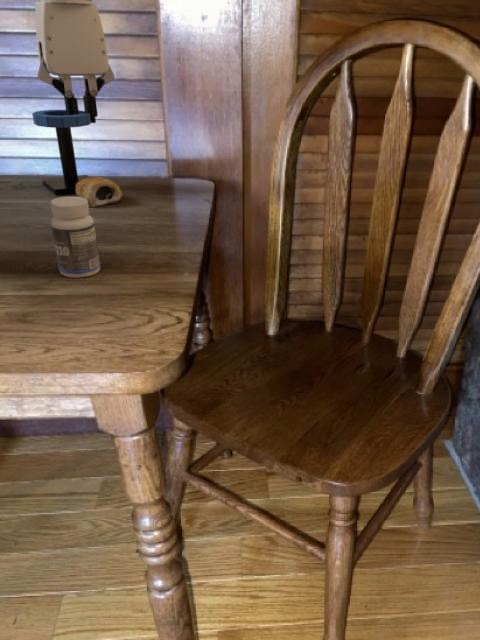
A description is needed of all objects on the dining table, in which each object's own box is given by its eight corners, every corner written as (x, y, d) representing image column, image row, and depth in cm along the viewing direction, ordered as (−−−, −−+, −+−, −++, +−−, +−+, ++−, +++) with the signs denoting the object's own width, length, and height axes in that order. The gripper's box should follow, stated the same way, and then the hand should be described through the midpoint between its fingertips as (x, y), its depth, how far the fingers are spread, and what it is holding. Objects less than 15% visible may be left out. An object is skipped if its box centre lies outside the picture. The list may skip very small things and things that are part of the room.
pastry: (67, 195, 96) (63, 172, 94) (105, 190, 100) (103, 168, 98) (87, 208, 90) (84, 184, 88) (128, 203, 93) (125, 179, 91)
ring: (42, 129, 90) (41, 118, 89) (28, 121, 96) (27, 110, 95) (97, 125, 94) (96, 115, 93) (81, 118, 100) (79, 108, 100)
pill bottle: (53, 269, 68) (39, 198, 64) (90, 261, 71) (80, 192, 67) (69, 282, 65) (56, 208, 61) (107, 272, 68) (98, 202, 64)
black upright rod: (55, 195, 96) (43, 125, 90) (42, 185, 101) (30, 118, 96) (102, 190, 100) (93, 122, 94) (87, 180, 105) (78, 115, 100)
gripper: (107, -4, 94) (120, 117, 103) (4, -11, 86) (28, 121, 95) (124, -5, 89) (136, 123, 98) (16, -12, 81) (40, 128, 90)
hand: (83, 121), depth 97 cm, fingers closed on ring, 2 cm apart
